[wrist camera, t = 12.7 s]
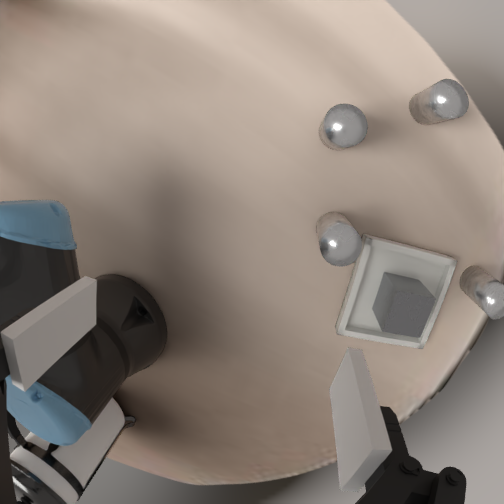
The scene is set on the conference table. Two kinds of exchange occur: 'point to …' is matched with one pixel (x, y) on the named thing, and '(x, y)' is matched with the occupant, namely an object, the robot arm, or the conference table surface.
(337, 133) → the cylinder
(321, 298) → the conference table surface
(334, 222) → the spacer
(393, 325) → the slate cube
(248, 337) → the conference table surface
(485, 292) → the cylinder
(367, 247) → the tray
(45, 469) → the coffee press
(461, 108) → the cylinder
